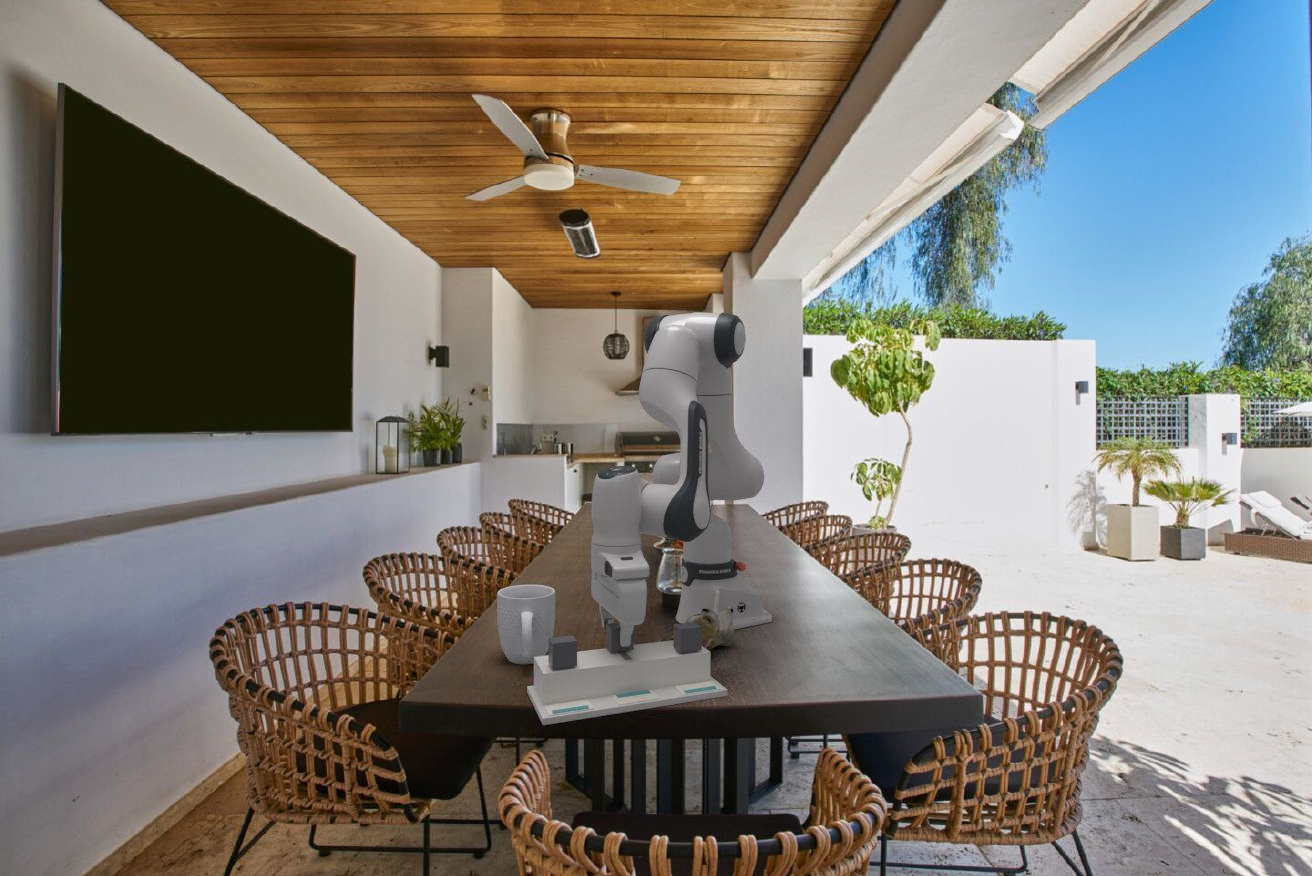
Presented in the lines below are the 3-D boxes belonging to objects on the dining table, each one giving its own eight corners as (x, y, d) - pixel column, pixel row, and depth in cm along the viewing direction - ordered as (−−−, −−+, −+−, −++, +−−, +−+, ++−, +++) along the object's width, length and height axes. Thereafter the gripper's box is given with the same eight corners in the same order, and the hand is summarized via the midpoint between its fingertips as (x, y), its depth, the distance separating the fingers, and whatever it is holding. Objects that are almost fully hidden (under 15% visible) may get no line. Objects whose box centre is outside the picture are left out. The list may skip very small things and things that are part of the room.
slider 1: (572, 659, 107) (572, 635, 107) (577, 665, 104) (577, 641, 104) (548, 662, 105) (548, 638, 105) (552, 669, 102) (552, 643, 102)
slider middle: (627, 644, 115) (627, 621, 115) (633, 649, 112) (633, 626, 112) (605, 646, 113) (606, 624, 113) (611, 652, 110) (611, 629, 110)
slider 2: (694, 644, 115) (694, 622, 115) (701, 650, 112) (701, 626, 112) (673, 647, 113) (673, 624, 113) (680, 652, 110) (680, 629, 110)
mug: (558, 674, 117) (559, 602, 117) (495, 679, 115) (496, 605, 114) (552, 647, 132) (553, 583, 131) (496, 651, 129) (497, 585, 129)
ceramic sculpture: (748, 606, 131) (692, 624, 122) (749, 648, 132) (694, 669, 122) (712, 595, 140) (657, 611, 130) (713, 635, 140) (659, 654, 131)
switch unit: (694, 668, 120) (695, 636, 120) (727, 695, 108) (727, 659, 108) (527, 692, 109) (527, 656, 109) (542, 725, 97) (543, 684, 97)
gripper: (583, 549, 123) (582, 621, 123) (616, 571, 104) (616, 657, 104) (614, 547, 126) (614, 618, 126) (653, 569, 107) (652, 652, 107)
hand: (615, 636), depth 115 cm, fingers open, 8 cm apart
